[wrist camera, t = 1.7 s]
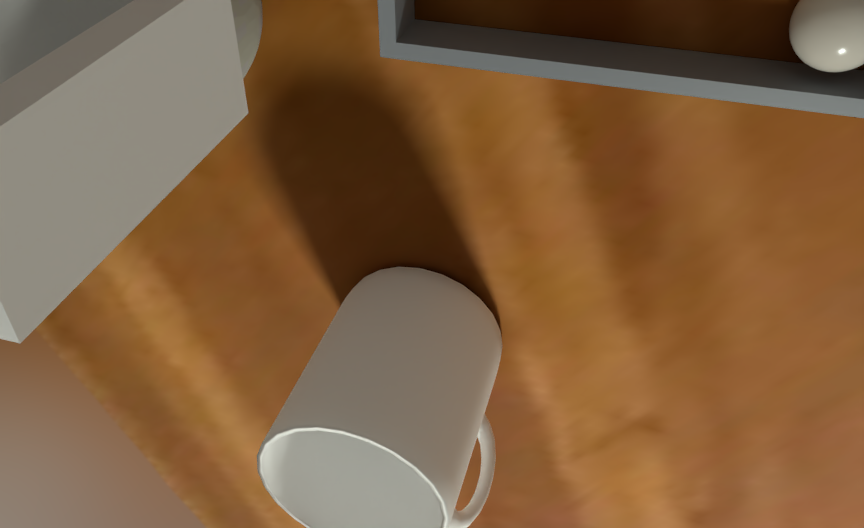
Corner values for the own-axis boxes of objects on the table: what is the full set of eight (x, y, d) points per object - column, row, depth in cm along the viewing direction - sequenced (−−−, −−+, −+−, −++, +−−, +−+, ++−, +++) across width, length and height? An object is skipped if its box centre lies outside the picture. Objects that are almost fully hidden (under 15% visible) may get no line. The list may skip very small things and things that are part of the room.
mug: (390, 229, 41) (299, 392, 32) (577, 349, 42) (538, 535, 34) (323, 326, 47) (231, 484, 38) (487, 427, 48) (434, 602, 40)
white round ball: (801, -42, 28) (808, -10, 25) (899, -33, 27) (916, 0, 24) (776, 44, 30) (779, 81, 27) (867, 55, 29) (879, 93, 26)
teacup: (96, -216, 31) (-54, -178, 25) (331, -63, 32) (240, 9, 26) (53, 56, 40) (-64, 131, 34) (236, 168, 41) (153, 259, 35)
